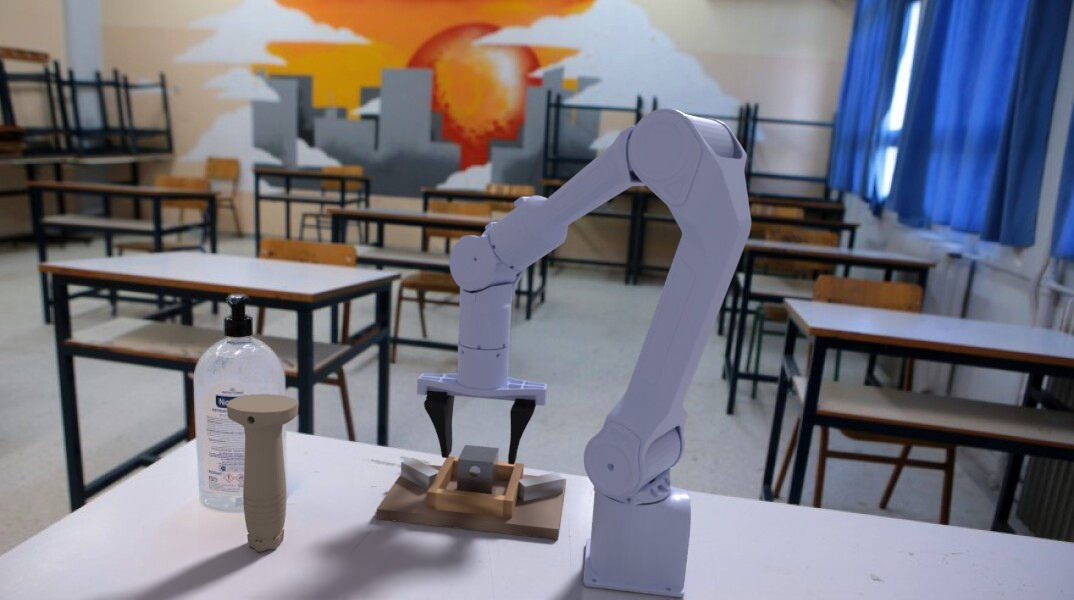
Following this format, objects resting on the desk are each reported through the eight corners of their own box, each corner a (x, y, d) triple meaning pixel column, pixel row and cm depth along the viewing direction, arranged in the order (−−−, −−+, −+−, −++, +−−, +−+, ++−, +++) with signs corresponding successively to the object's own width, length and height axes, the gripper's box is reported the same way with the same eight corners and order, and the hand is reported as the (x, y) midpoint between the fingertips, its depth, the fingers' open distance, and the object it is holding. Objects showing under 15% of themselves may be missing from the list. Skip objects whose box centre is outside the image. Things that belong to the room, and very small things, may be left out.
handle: (286, 561, 65) (284, 414, 63) (222, 554, 66) (217, 408, 63) (307, 534, 70) (305, 397, 67) (247, 528, 71) (243, 392, 68)
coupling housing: (565, 487, 84) (567, 463, 83) (558, 539, 72) (560, 511, 72) (408, 471, 86) (409, 447, 85) (376, 518, 74) (376, 492, 73)
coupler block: (497, 485, 81) (499, 446, 80) (490, 505, 76) (492, 464, 75) (464, 482, 81) (465, 443, 80) (455, 501, 76) (457, 460, 75)
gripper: (551, 339, 78) (545, 449, 81) (429, 330, 80) (427, 438, 82) (546, 355, 72) (539, 475, 74) (412, 344, 73) (410, 462, 75)
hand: (479, 457), depth 78 cm, fingers open, 7 cm apart
